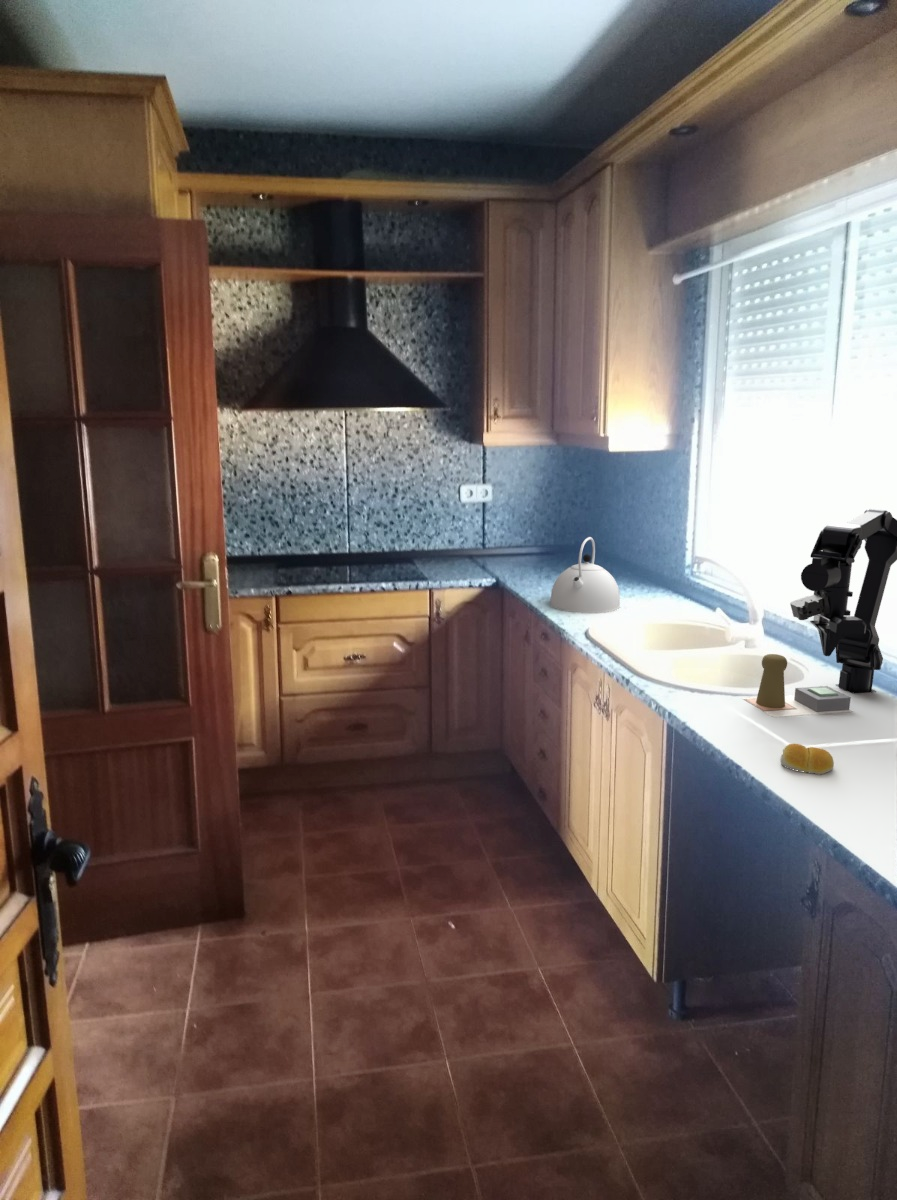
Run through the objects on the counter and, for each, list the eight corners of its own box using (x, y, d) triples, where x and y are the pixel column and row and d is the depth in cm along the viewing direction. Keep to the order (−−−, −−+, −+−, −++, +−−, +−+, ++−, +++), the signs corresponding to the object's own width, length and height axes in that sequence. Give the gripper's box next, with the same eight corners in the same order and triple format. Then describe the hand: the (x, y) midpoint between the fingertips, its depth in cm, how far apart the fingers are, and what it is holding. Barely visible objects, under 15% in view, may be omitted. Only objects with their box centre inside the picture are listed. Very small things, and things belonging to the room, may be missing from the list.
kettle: (608, 618, 272) (612, 546, 267) (539, 610, 281) (541, 540, 276) (626, 602, 294) (630, 535, 289) (561, 595, 303) (564, 530, 298)
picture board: (817, 696, 200) (818, 681, 199) (851, 714, 188) (853, 698, 188) (742, 701, 196) (743, 686, 195) (772, 719, 184) (774, 704, 183)
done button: (824, 697, 194) (825, 687, 194) (835, 703, 190) (836, 693, 190) (808, 698, 193) (809, 688, 193) (819, 704, 190) (820, 694, 189)
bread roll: (834, 779, 156) (836, 757, 155) (780, 771, 159) (782, 750, 158) (831, 761, 163) (833, 741, 162) (780, 754, 166) (782, 734, 165)
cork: (784, 700, 194) (788, 652, 192) (786, 709, 188) (791, 660, 186) (755, 697, 196) (759, 650, 193) (756, 706, 190) (761, 657, 188)
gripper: (779, 576, 195) (772, 644, 198) (817, 593, 177) (809, 668, 180) (828, 576, 196) (820, 644, 199) (871, 594, 177) (862, 668, 181)
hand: (826, 655), depth 190 cm, fingers closed
